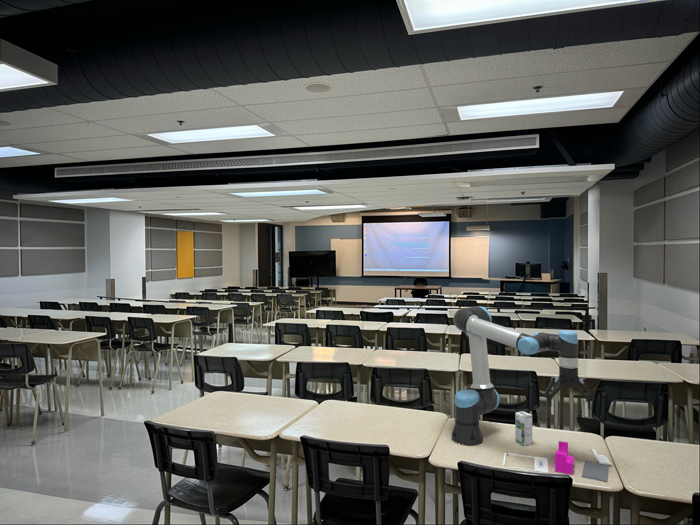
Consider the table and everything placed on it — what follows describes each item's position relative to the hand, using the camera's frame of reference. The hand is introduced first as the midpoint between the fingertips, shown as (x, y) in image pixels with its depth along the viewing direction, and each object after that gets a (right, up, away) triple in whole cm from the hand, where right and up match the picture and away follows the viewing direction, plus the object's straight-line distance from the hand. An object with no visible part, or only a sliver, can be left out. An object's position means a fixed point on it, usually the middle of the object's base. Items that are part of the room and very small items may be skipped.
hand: (569, 415), depth 202 cm
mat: (+7, -21, -9) cm, 23 cm away
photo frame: (-19, -22, -1) cm, 29 cm away
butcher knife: (+16, -20, +3) cm, 26 cm away
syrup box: (-12, -21, +21) cm, 32 cm away
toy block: (-4, -21, -4) cm, 21 cm away
